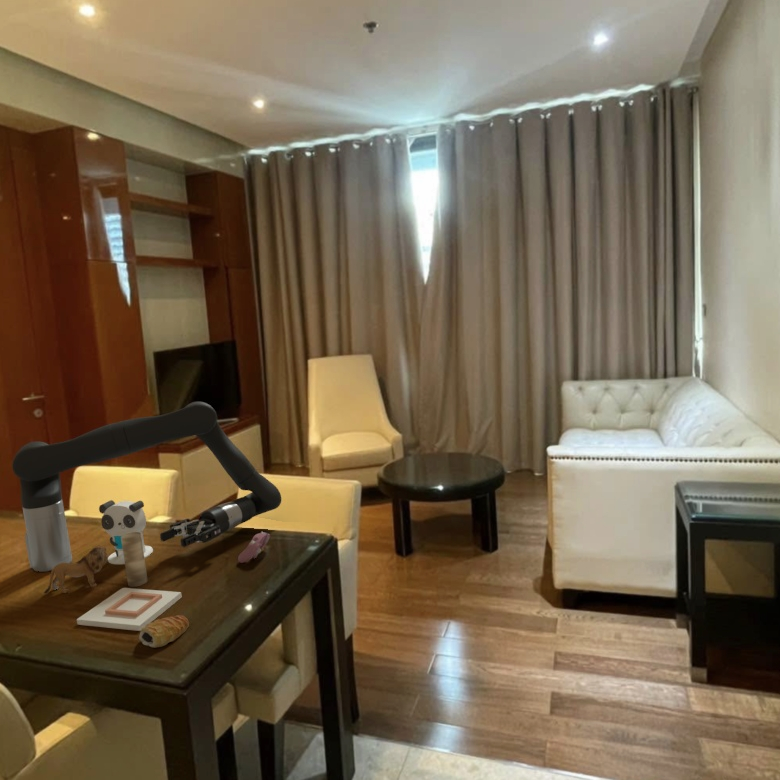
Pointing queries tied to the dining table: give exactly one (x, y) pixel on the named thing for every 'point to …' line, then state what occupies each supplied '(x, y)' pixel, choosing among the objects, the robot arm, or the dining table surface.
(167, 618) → the pastry
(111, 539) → the panda figurine
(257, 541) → the video game controller
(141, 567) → the maple pin
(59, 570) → the lion figurine
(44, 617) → the dining table surface
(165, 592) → the board
